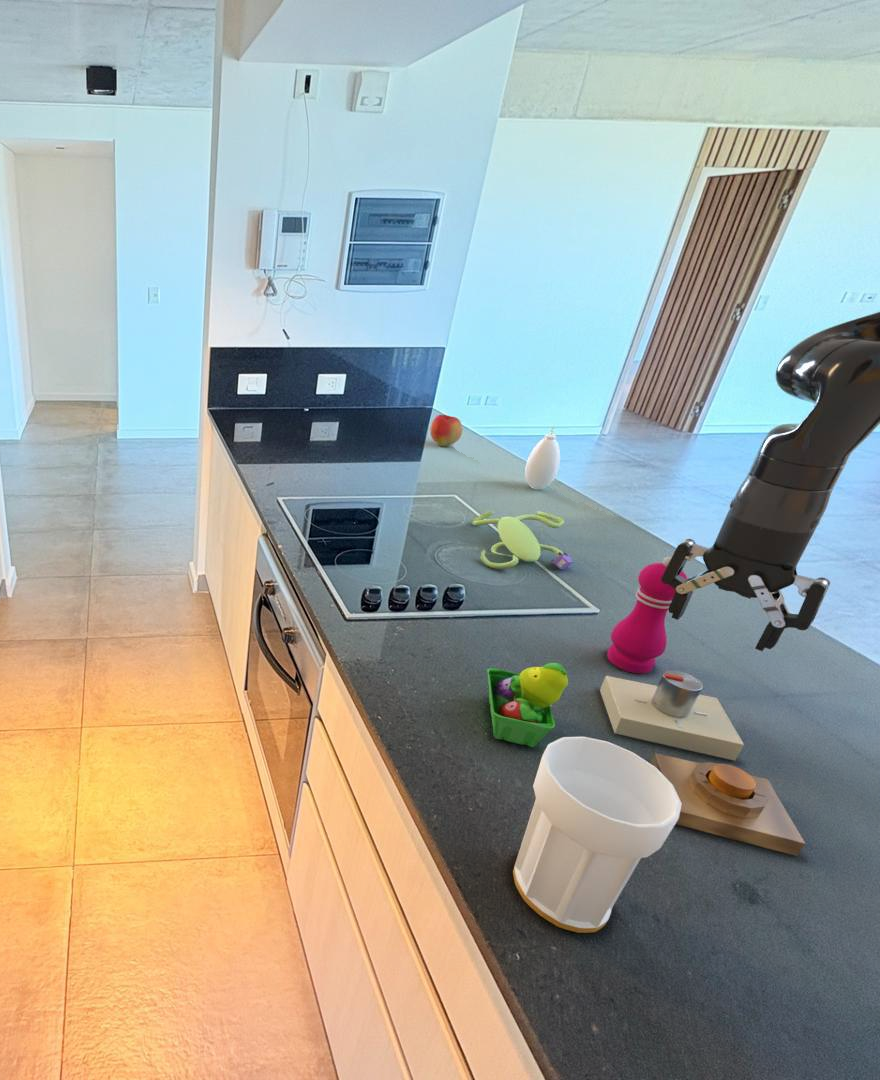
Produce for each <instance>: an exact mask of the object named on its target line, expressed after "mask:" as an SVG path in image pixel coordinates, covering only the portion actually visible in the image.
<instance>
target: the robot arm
mask: <svg viewBox="0 0 880 1080" xmlns="http://www.w3.org/2000/svg"><path fill="white" fill-rule="evenodd" d="M775 381H776V383H777V385H778V387H779V388H780V390H781V391H782V392H784V393H785V394H787V395H789V396H791V397H793V398H796V399H798V400H802V401H805V402H809V403H811V404H814V405H813V407H812V408H811V410H810V411H809V413H807V415H805V417H804V418H803V419H802V420H801V422H800V423H795V422H794V423H784V424H779V425H777V426H774V427H773V428H771V430H769V431H768V432H767V433H766V435H765V437H764V438H763V440H762V442H761V444H760V446H759V448H758V451H757V453H756V455H755V457H754V460H753V462H752V464H751V466H750V469H749V471H748V473H747V475H746V476H745V478H744V479H743V481H742V483H741V484H740V486H739V488H738V490H737V492H736V493H735V496H734V498H732V500H731V502H730V504H729V509H728V511H727V514H726V516H725V518H724V520H723V523H722V525H721V527H720V529H719V532H718V534H717V536H716V538H715V541H714V543H713V545H712V546H711V547H706V546H703V545H700V544H697V543H696V541H695V540H694V539H691V538H686V539H684V540H683V541H682V542H680V543H679V544H678V545H677V546H676V549H675V551H674V552H673V554H672V556H671V557H672V558H671V560H670V562H669V564H668V566H667V568H666V570H665V572H664V574H663V576H662V578H661V581H662V582H663V583H664V584H669V585H670V586H672V587H673V588H674V589H675V594H674V597H673V599H672V601H671V604H670V606H669V609H668V613H670V614H672V615H671V619H674V620H677V621H678V620H680V619H681V618H682V617H683V615H684V614H685V612H686V610H687V608H688V605H689V602H690V601H691V598H692V596H693V593H694V591H695V590H697V589H702V588H704V587H706V586H708V585H711V584H714V585H715V586H717V588H718V589H719V590H722V591H726V592H732V593H735V594H737V595H739V596H740V597H744V598H747V599H748V600H749V599H752V598H753V599H755V598H756V599H757V600H758V602H759V604H760V606H761V609H762V610H763V611H765V613H766V615H767V617H768V619H769V622H768V623H767V624H766V627H765V628H764V630H763V632H762V634H761V636H760V637H759V639H758V642H757V644H756V646H755V647H754V649H755V650H757V651H760V652H763V651H764V650H765V649H768V650H771V649H773V648H774V647H775V646H776V645H777V644H778V642H779V640H780V638H781V637H782V635H783V632H784V631H785V629H788V628H792V629H796V630H799V631H806V630H808V629H809V628H810V626H811V625H812V624H813V622H814V621H815V619H816V616H817V614H818V612H819V609H820V607H821V606H822V603H823V600H824V599H825V596H826V594H827V592H828V590H829V587H830V585H831V581H830V579H828V578H826V577H817V578H812V577H808V576H805V575H801V574H798V572H797V566H798V564H799V562H800V560H801V558H802V556H803V554H804V552H805V551H806V548H807V547H808V544H809V543H810V540H811V539H812V537H813V535H814V533H815V531H816V529H817V527H818V526H819V525H820V522H821V519H822V518H823V516H824V514H825V512H826V510H827V507H828V505H829V502H830V499H831V498H830V497H831V495H832V492H833V490H834V487H835V486H836V485H837V482H838V480H839V478H840V477H841V474H842V472H843V470H844V468H845V467H846V464H847V462H848V461H849V458H850V456H851V454H852V453H853V452H854V451H855V450H856V449H857V448H858V447H859V446H860V445H861V444H862V443H863V442H864V441H865V440H866V439H867V438H868V437H869V436H870V435H871V434H872V433H873V432H874V431H875V430H876V429H877V428H878V426H879V425H880V311H877V312H875V313H874V312H873V313H871V314H868V315H865V316H862V317H858V318H855V319H851V320H847V321H845V322H842V323H839V324H837V325H834V326H829V327H828V328H825V329H822V330H820V331H819V332H816V333H814V334H812V335H810V336H808V337H806V338H804V339H803V340H801V341H799V342H798V343H796V345H794V346H793V347H792V348H790V349H789V350H788V351H787V352H786V354H784V356H782V358H781V359H780V361H779V362H778V363H777V367H776V371H775ZM697 557H702V560H703V562H704V564H705V567H706V569H705V570H703V571H701V572H699V573H698V574H696V575H693V576H691V577H687V579H685V578H683V577H682V576H680V573H681V571H683V569H684V567H685V565H686V563H687V562H688V561H689V562H691V561H694V560H695V559H696V558H697ZM792 585H794V586H796V587H797V588H798V590H797V592H798V593H797V594H799V596H800V597H803V598H804V600H803V602H802V605H801V607H800V608H799V612H798V613H790V611H789V609H788V607H787V605H786V603H785V597H784V594H783V593H782V590H783V589H785V588H788V587H790V586H792Z"/></svg>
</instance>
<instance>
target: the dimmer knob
mask: <svg viewBox="0 0 880 1080" xmlns="http://www.w3.org/2000/svg"><path fill="white" fill-rule="evenodd" d="M657 686H658V687H657V689H656V691H655V694H654V696H653V698H652V704H653V706H654V707H655V708H656V709H658V710H659V711H661V712H663V713H665V714H667V715H669V716H673V717H678V718H685V717H687V716H689V714H690V712H691V710H692V708H693V706H694V704H695V702H696V700H697V698H698V696H699V695H701V691H702V690H703V683H702V682H701V681H700V680H699V679H698V678H697V677H695V676H694V675H691V674H689V673H687V672H684V671H681V670H672V669H671V670H670V669H669V670H666V671H664V672H663V673H662V676H661V679H660V680H659V682H658V685H657Z"/></svg>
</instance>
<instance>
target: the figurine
mask: <svg viewBox="0 0 880 1080" xmlns="http://www.w3.org/2000/svg"><path fill="white" fill-rule="evenodd" d="M493 515H494V511H493V510H488V511H485V512H484V513H482V514H480V515H478V516H477V517H475V518H474V519H473V520H472V521H471V525H472V526H474V527H479V526H483V525H492V524H497V528H496V529H497V533H498V536H499V538H500V540H501V541H500V542H497V543H494V545H492V546H491V548H490V552H491V553H492V554H494V555H497V556H503V557H509V558H511V559H512V560H510V561H507V562H504V563H503V562H501V563H500V562H499V563H498V562H492V561H491V560H488V558H487V557H486V550H485V549H483V550H482V551H481V552H480V560H481V561H482V563H483V564H484V565H485V566H486V567H489V568H490V569H496V570H505V569H509V568H511V567H515V566H517V564H518V563H519V561H520V560H522V561H524V562H526V563H533V562H534V563H535V562H537V561H538V560H539V558H540V557H541V550H544V551H545V550H546V551H550V552H552V553H555V554H556V555H557V557H556V558H555V559H554V558H553V559H552V560H551V562H552V564H554V565H555V566H556V567H557V568H558V569H559V570H564V569H567V568H568V567H569V566H570V565H572V564H573V560H572V558H571V556H570V555H569V554H568V553H567V552H563V551H562V550H560V549H558V548H557V547H555V546H551V545H548V544H543V543H542V544H541V543H539V540H538V539H537V538H536V536H535V534H534V533H533V532H532V531H533V530H531V529H530V528H529V527H528V526H527V524H526V523H524V522H522V521H526V520H531V521H538V522H540V523H542V524H544V525H546V526H547V527H549V528H552V529H560V528H561V527H562V526H563V525H564V523H565V520H564V518H562V517H559V516H556V515H553V514H550V513H546V512H543V511H542V510H541V511H540V510H538V511H536V512H535V514H522V515H517V516H515V517H513V516H502V517H501V518H490V517H491V516H493ZM553 521H554V522H553ZM503 547H506V548H507V550H508V551H509V552H510V553H511V554H506V553H501V552H498V550H499V549H500V548H503Z"/></svg>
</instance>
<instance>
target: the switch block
mask: <svg viewBox="0 0 880 1080" xmlns="http://www.w3.org/2000/svg"><path fill="white" fill-rule="evenodd" d="M649 763H650V764H651V765H653V766H655V767H656V768H657V769H658V770H659V771H660V772H661V773H662V774H663V775H664V776H665V777H666V778H667V779H668V781H669V782H670V783H671V784H672V785H673V786H674V789H675V791H676V793H677V795H678V797H679V799H680V801H681V803H682V805H681V810H680V815H679V819H678V821H677V822H676V824H675V825H677V826H681V827H685V828H688V829H692V830H696V831H699V832H703V833H708V834H712V835H715V836H719V837H723V838H726V839H730V840H735V841H737V842H741V843H746V844H748V845H749V844H750V845H753V846H756V847H761V848H764V849H768V850H771V851H772V850H773V851H775V852H780V853H783V854H786V855H790V856H795V857H798V855H799V854H800V853H801V852H802V850H803V848H804V847H805V846H806V842H805V840H804V839H803V837H802V835H801V833H800V832H799V830H798V828H797V826H796V825H795V823H794V822H793V820H792V818H791V816H790V814H789V813H788V811H787V809H786V808H785V807H784V804H783V803H782V801H781V799H780V798H779V796H778V794H777V793H776V791H775V789H774V787H773V786H772V784H771V782H770V781H769V779H767V778H765V777H760V776H755V775H752V774H749V775H750V776H751V777H752V778H753V779H754V781H755V782H756V787H755V789H754V791H753V792H752V794H751V796H750V797H749V798H748V799H743V800H742V799H738V798H734V797H730V796H728V795H726V794H724V793H722V792H720V791H718V790H717V789H716V788H715V787H714V786H713V785H711V784H710V782H709V780H708V776H709V774H710V773H711V771H712V769H713V767H714V766H715V765H717V764H718V763H716V762H712V761H708V762H696V761H692V760H687V759H683V758H678V757H675V756H670V755H667V754H661V753H657V752H654V753H653V756H652V757H651V760H650V762H649Z"/></svg>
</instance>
